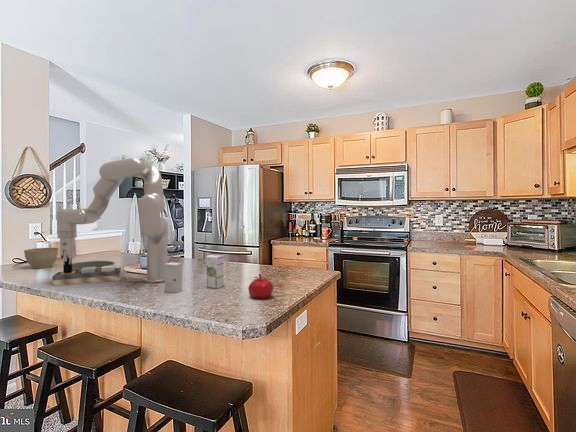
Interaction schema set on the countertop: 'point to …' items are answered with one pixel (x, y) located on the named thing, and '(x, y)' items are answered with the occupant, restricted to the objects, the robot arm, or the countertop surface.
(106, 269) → the key
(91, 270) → the key middle
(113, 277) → the keypad
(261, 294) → the pomegranate
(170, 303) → the countertop surface
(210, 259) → the syrup box
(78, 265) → the cake pan
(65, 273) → the key
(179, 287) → the skincare box
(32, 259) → the planter bowl
